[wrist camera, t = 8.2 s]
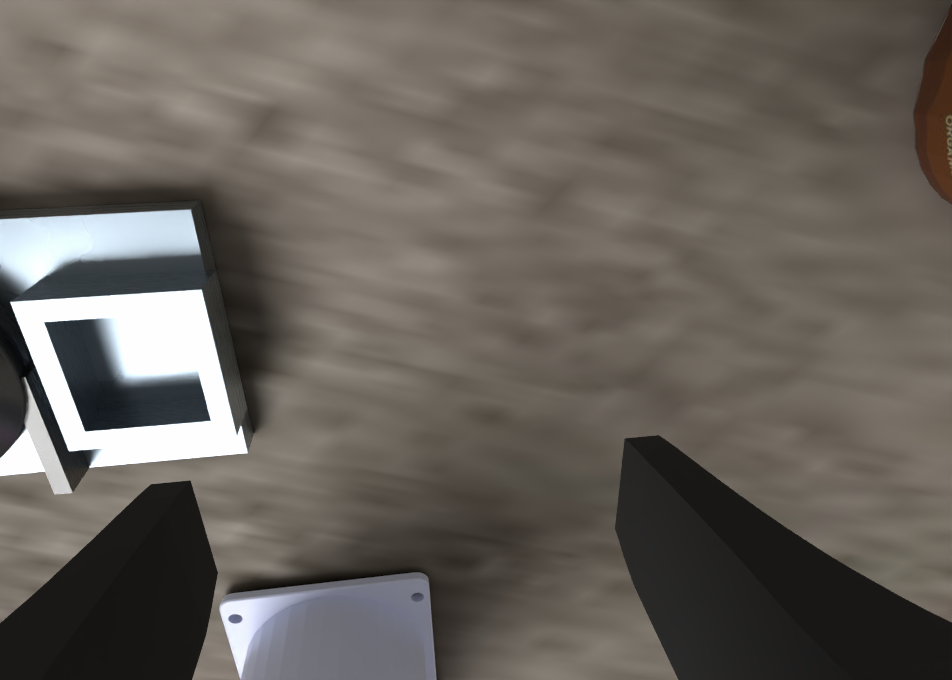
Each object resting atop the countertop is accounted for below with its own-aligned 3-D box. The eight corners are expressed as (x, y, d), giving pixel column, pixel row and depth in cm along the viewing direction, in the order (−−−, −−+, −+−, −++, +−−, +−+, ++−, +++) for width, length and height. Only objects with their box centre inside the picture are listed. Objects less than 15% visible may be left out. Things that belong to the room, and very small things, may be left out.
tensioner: (262, 434, 21) (248, 482, 19) (-106, 466, 20) (-167, 522, 18) (211, 199, 17) (186, 224, 15) (-243, 222, 16) (-343, 253, 14)
